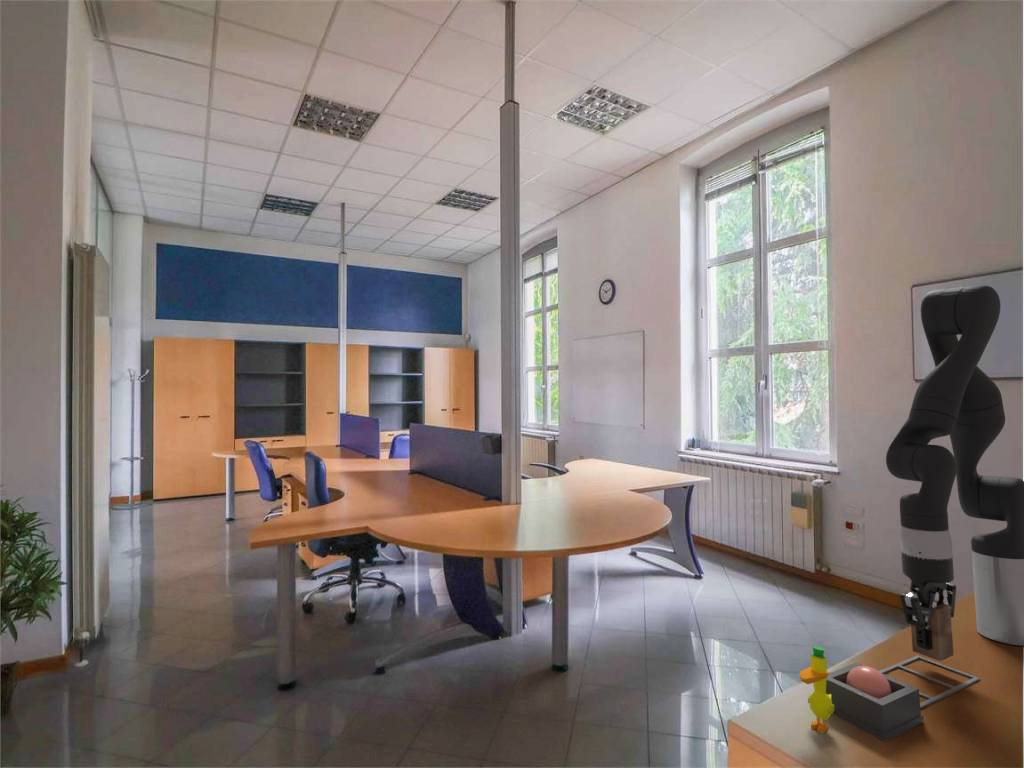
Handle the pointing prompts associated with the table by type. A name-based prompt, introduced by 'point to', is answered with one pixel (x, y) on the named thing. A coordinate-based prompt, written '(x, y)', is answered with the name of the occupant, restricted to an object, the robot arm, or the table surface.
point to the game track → (942, 695)
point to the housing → (875, 705)
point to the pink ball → (869, 681)
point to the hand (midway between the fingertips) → (932, 644)
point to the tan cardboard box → (937, 634)
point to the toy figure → (818, 688)
